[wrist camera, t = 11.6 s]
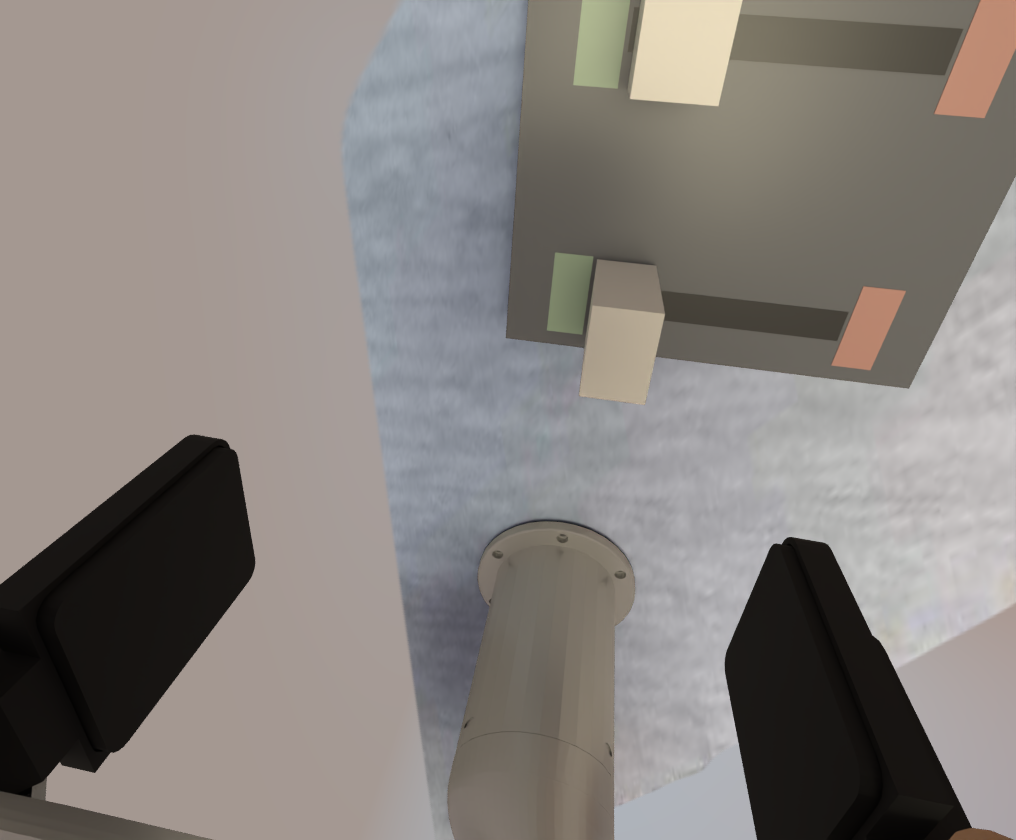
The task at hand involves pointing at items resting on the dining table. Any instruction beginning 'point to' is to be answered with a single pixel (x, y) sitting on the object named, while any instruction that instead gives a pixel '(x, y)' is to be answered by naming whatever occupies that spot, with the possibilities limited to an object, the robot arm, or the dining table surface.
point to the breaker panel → (769, 180)
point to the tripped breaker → (682, 50)
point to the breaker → (622, 332)
